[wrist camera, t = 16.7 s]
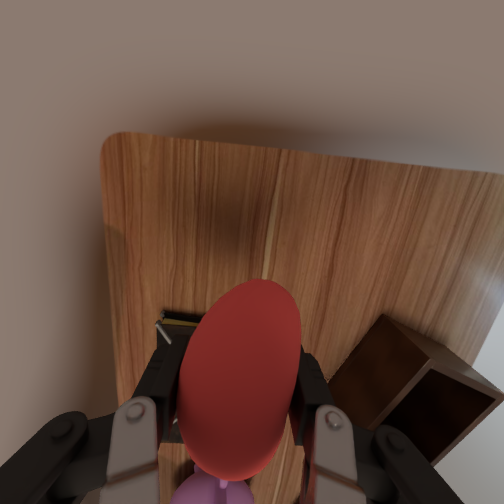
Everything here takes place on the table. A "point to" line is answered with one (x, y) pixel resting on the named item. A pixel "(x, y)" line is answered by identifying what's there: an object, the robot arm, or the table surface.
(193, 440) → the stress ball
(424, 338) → the chest
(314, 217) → the table surface
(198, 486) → the teapot
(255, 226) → the table surface
